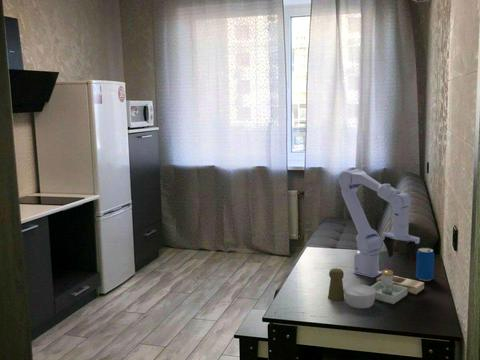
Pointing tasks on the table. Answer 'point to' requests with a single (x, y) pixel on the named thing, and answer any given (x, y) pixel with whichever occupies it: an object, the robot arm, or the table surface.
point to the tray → (396, 296)
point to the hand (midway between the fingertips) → (400, 258)
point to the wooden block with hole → (406, 284)
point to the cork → (336, 285)
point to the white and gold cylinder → (387, 282)
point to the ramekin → (359, 296)
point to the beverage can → (425, 264)
